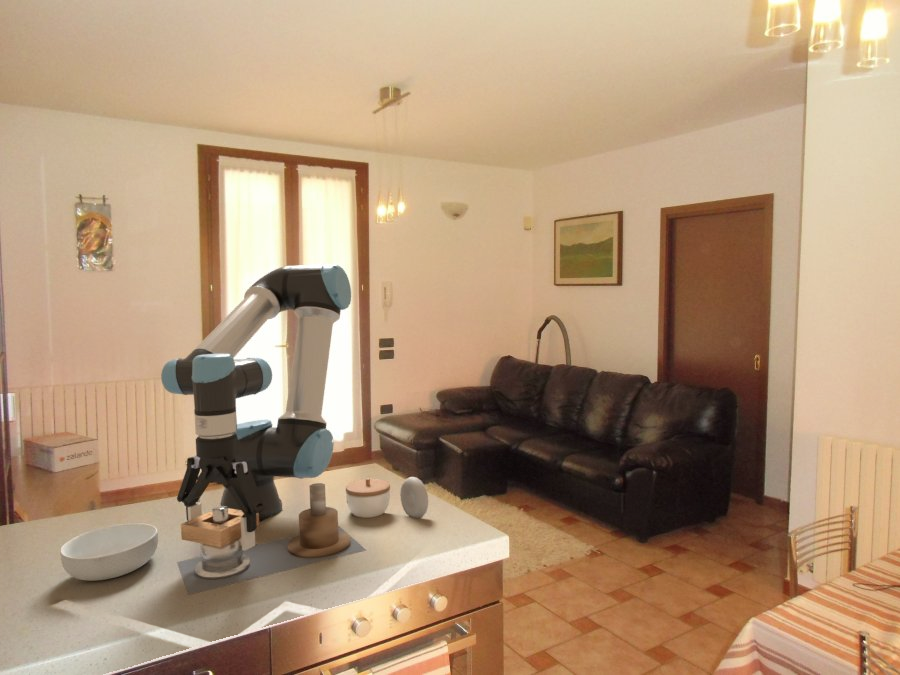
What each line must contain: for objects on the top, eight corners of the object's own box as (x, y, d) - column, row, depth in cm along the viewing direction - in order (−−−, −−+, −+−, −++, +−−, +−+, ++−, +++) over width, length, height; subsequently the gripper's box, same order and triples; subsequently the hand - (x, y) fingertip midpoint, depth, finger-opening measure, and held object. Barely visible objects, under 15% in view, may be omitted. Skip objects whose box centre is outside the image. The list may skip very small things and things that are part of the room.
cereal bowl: (97, 555, 128) (95, 522, 127) (175, 554, 127) (173, 521, 127) (40, 594, 111) (38, 557, 110) (129, 594, 110) (127, 556, 110)
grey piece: (431, 522, 142) (430, 480, 141) (419, 526, 140) (418, 483, 139) (410, 510, 150) (409, 471, 149) (398, 513, 148) (397, 473, 147)
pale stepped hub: (183, 574, 115) (180, 513, 114) (223, 553, 124) (220, 497, 123) (222, 583, 111) (219, 520, 110) (260, 561, 120) (258, 503, 119)
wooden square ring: (181, 539, 114) (180, 524, 114) (221, 521, 123) (220, 507, 123) (221, 547, 110) (220, 531, 110) (259, 528, 119) (258, 513, 119)
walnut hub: (274, 552, 124) (271, 491, 123) (313, 529, 136) (311, 473, 135) (326, 562, 119) (324, 498, 118) (362, 537, 130) (360, 479, 130)
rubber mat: (188, 601, 107) (188, 594, 107) (177, 567, 120) (177, 561, 120) (366, 555, 124) (366, 549, 124) (339, 530, 138) (338, 525, 138)
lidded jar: (337, 517, 146) (336, 479, 146) (371, 505, 154) (370, 469, 154) (365, 528, 139) (364, 488, 139) (400, 515, 147) (399, 477, 146)
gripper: (154, 433, 117) (159, 540, 119) (252, 444, 107) (258, 560, 108) (185, 426, 124) (190, 526, 125) (281, 435, 114) (285, 544, 115)
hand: (221, 542), depth 117 cm, fingers open, 13 cm apart
